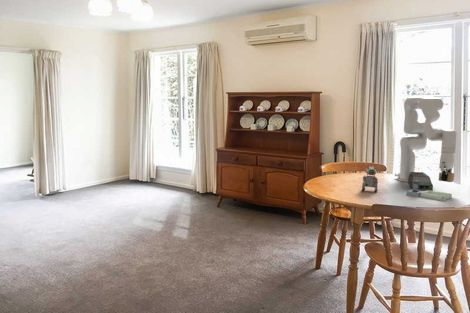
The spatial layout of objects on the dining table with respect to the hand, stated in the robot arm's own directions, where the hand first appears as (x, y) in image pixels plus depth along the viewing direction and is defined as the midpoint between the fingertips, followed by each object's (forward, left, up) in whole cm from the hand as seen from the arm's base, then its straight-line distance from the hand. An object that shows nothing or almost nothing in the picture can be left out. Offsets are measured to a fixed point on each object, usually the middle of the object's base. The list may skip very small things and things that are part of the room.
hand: (446, 179), depth 254 cm
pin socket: (-11, -17, -9) cm, 22 cm away
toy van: (-17, +2, -9) cm, 19 cm away
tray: (0, -13, -9) cm, 16 cm away
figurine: (-35, -27, -9) cm, 45 cm away
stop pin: (-11, -17, -9) cm, 22 cm away
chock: (0, 0, -1) cm, 1 cm away
